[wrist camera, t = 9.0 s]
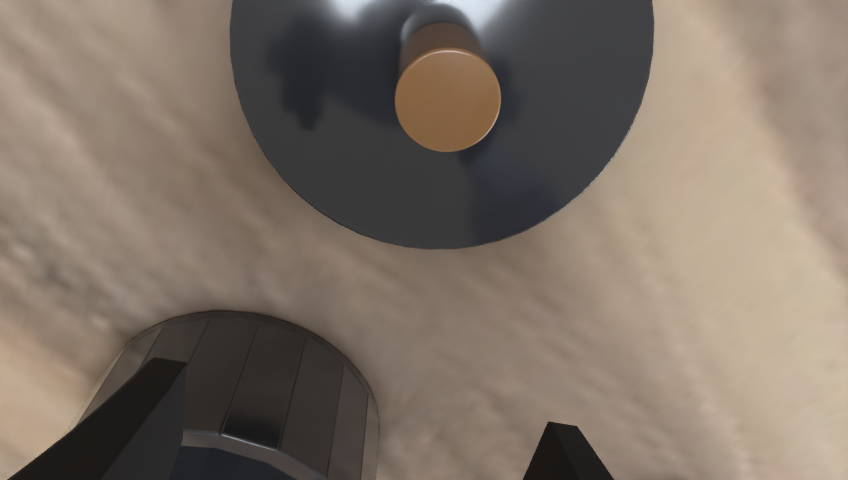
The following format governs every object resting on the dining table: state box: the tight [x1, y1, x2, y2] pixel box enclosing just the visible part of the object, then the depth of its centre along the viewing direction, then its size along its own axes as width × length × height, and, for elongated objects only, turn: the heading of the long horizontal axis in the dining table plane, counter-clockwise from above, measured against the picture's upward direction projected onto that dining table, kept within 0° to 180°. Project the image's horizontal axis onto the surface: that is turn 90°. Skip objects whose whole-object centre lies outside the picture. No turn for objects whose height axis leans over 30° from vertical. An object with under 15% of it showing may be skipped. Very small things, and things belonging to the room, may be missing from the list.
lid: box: [230, 0, 654, 249], centre depth 17 cm, size 12×12×4 cm
